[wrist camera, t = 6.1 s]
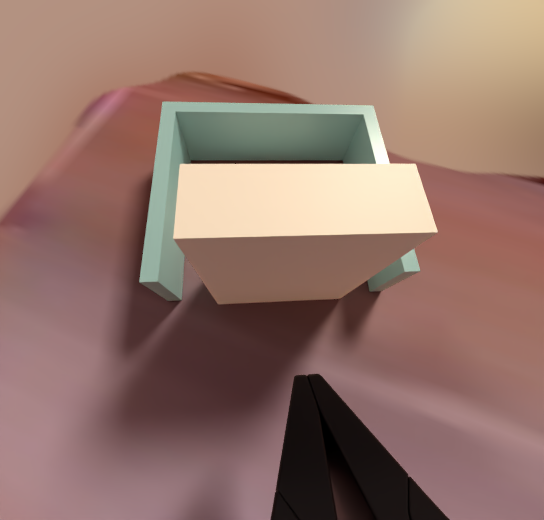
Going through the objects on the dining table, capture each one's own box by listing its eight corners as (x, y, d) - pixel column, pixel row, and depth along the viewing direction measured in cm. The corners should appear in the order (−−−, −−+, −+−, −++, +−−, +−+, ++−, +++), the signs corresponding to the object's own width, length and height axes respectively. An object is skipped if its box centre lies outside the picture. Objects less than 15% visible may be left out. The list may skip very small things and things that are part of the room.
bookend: (339, 298, 16) (438, 232, 7) (217, 304, 15) (173, 238, 7) (320, 175, 19) (372, 32, 11) (220, 175, 18) (192, 24, 10)
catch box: (381, 291, 16) (420, 270, 12) (167, 300, 15) (139, 282, 11) (351, 152, 20) (373, 105, 16) (180, 151, 19) (162, 101, 15)
